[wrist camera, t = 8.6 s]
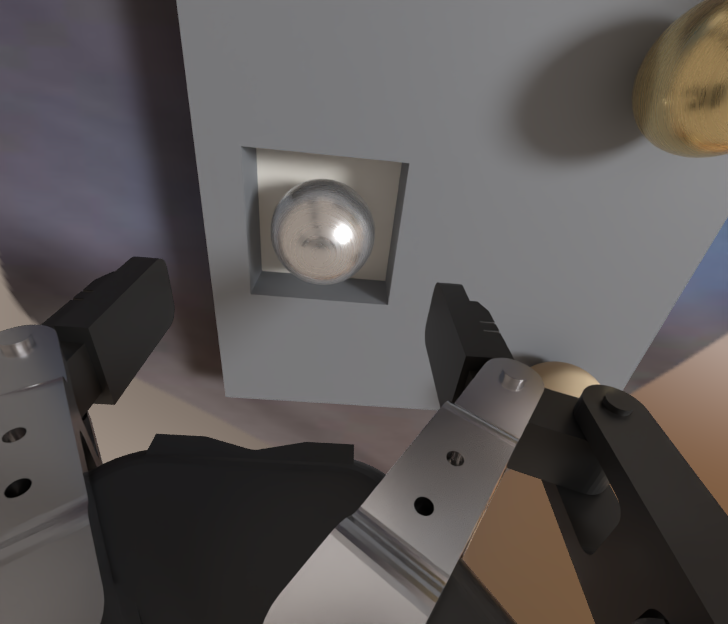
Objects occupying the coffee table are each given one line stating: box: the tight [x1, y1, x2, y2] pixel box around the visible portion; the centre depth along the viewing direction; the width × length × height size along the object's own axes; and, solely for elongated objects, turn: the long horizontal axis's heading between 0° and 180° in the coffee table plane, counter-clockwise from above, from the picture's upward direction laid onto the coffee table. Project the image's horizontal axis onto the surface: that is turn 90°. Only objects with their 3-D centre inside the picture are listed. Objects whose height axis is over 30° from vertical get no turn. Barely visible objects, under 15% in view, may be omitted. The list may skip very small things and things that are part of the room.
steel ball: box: [270, 179, 375, 285], centre depth 17 cm, size 4×4×4 cm
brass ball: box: [632, 0, 728, 158], centre depth 12 cm, size 4×4×4 cm
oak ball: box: [531, 361, 600, 398], centre depth 19 cm, size 4×4×4 cm
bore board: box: [176, 0, 728, 410], centre depth 18 cm, size 20×22×3 cm
